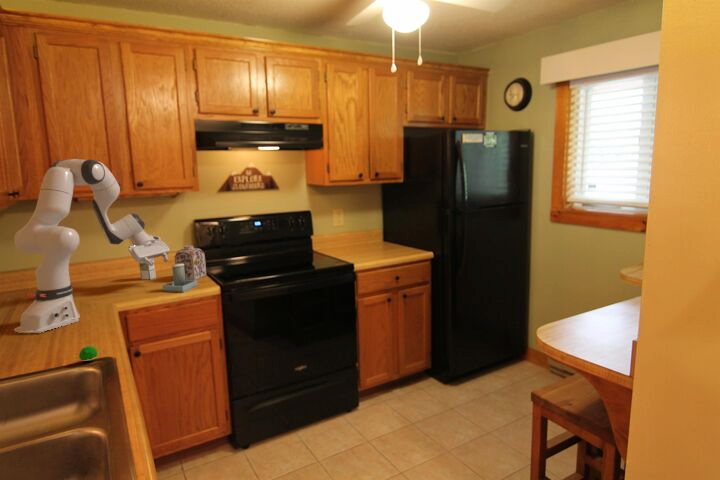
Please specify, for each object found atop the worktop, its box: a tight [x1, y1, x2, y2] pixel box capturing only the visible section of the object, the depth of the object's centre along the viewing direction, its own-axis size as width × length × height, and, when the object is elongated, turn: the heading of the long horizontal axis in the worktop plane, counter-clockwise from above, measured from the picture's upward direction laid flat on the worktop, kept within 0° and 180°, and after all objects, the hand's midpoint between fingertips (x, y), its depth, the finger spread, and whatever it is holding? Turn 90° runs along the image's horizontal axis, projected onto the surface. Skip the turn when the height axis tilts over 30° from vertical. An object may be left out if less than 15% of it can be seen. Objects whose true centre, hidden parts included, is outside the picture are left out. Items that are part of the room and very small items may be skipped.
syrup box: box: [138, 258, 157, 281], centre depth 249 cm, size 6×6×14 cm
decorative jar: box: [174, 244, 207, 281], centre depth 248 cm, size 12×12×18 cm
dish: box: [162, 279, 199, 293], centre depth 226 cm, size 12×12×3 cm
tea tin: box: [171, 263, 186, 286], centre depth 226 cm, size 6×6×12 cm
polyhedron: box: [78, 345, 99, 361], centre depth 143 cm, size 5×5×5 cm
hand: (159, 262), depth 229 cm, fingers open, 8 cm apart
